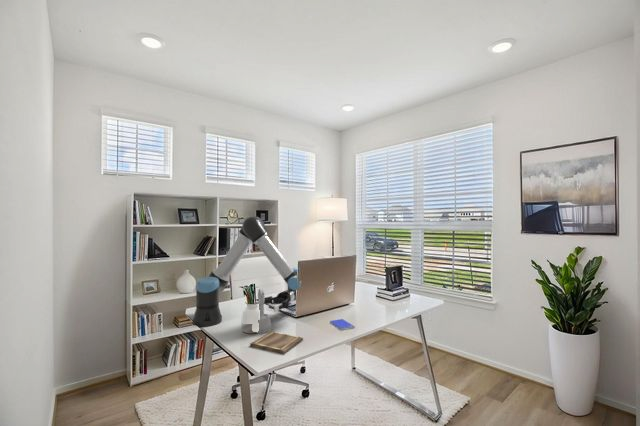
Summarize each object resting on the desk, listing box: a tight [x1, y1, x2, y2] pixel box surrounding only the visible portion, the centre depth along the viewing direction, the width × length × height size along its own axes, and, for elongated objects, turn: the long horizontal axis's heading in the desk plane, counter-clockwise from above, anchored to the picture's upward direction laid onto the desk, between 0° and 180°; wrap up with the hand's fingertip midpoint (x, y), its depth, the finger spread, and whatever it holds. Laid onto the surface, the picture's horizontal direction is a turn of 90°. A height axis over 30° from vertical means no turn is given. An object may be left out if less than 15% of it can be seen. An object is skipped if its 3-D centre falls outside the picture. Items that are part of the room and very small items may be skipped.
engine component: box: [257, 288, 272, 334], centre depth 158 cm, size 11×20×10 cm
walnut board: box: [249, 331, 304, 355], centre depth 140 cm, size 18×16×1 cm
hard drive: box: [329, 318, 356, 331], centre depth 164 cm, size 2×8×12 cm
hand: (263, 307), depth 158 cm, fingers open, 13 cm apart
